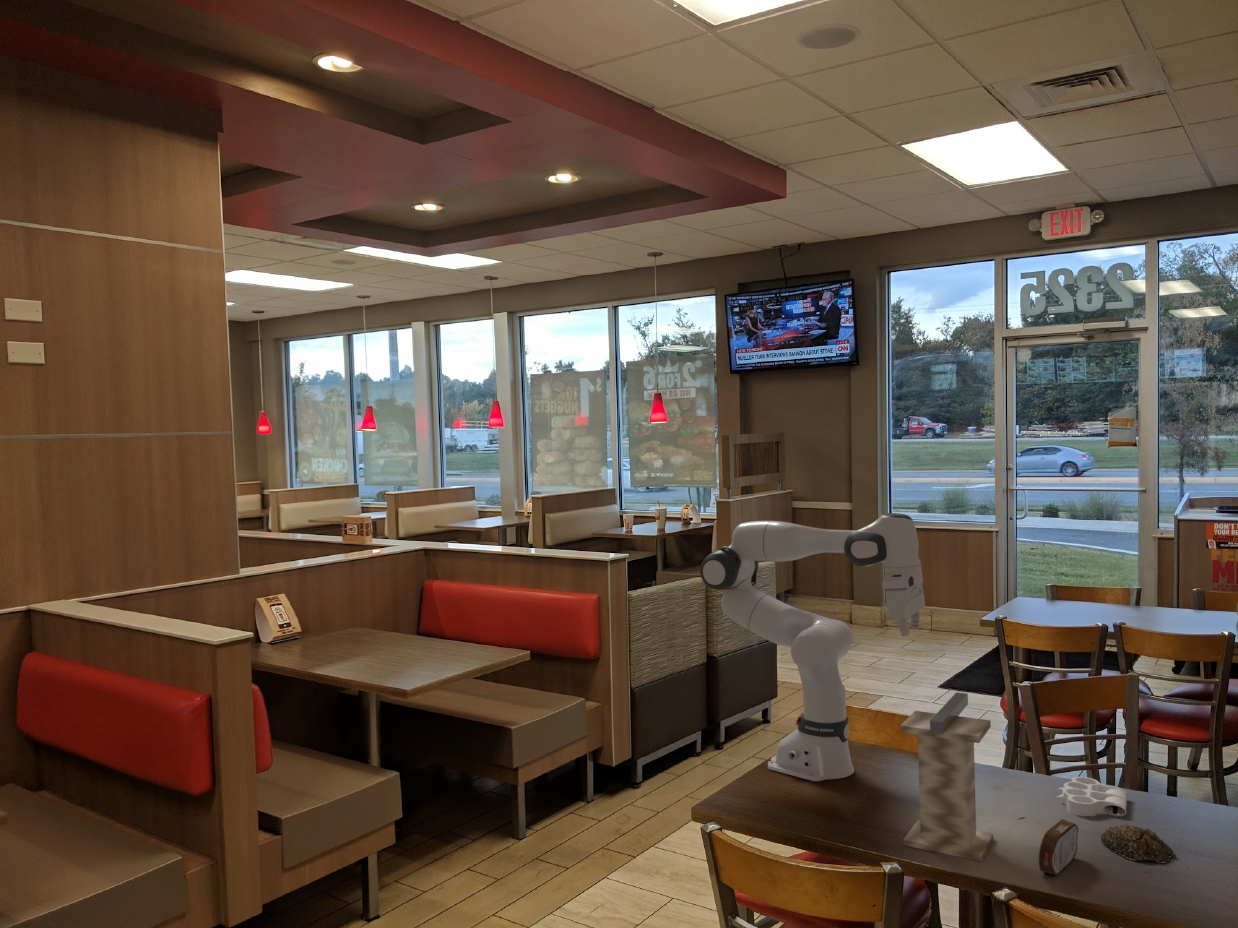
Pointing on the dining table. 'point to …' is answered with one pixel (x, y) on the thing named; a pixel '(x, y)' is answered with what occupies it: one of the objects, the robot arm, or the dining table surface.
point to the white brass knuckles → (1092, 797)
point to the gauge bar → (948, 713)
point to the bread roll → (1136, 843)
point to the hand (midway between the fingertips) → (910, 632)
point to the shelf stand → (947, 787)
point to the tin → (1058, 847)
